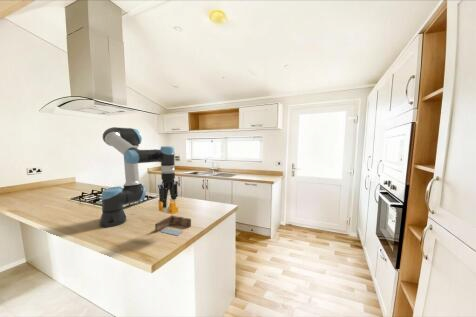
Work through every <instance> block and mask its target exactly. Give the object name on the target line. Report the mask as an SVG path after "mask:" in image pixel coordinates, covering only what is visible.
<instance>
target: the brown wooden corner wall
mask: <svg viewBox="0 0 476 317" xmlns="http://www.w3.org/2000/svg"><path fill="white" fill-rule="evenodd" d="M171 225H177V226H181V227H186V228H187V227H188V228H190V227H192V219H191V218H188V217H184V216H178V215H174V214H171V215H170V216H168V217H166V218H164V219H162V220H160V221H158V222H156V223H155V225H154V227H155V230H154V231H155V233H158V232H160V231H162V230H163V229H165V228H167V227H169V226H171Z"/></svg>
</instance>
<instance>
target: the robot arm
mask: <svg viewBox="0 0 476 317" xmlns="http://www.w3.org/2000/svg"><path fill="white" fill-rule="evenodd" d="M142 140H143V138H142V134H141V132H140V130H138V129H136V128H131V127H116V126H115V127H108V128H107V129H105V130H104V132H103V133H102V141H103V142H104V143H105V144H106V145H108V146H111V147H113V148H114V149H115V150H117V151H118V152H119V153H120V154H122V155H123V164H124V176H125V177H124V179H125V182H124V184H123V187H122V186H113V187H109V188H106V189H104V190H103V191H102V192H101V197H100V199H101V207H102V208H101V209H102V210H101V211H102V213H101V216H100V219H99V226H100V227H103V228H111V227H117V226H119V225H121V224H125V223H126V222H127V216H126V213H125V210H124V205H130V204H134V203H138V202H140V201H143V200H144V199H145V197H146V193H147V191H146V187H145V185H144V184H143V183H142V182H141V180H140V175H139V164H145V163H146V164H147V163H160V169H161V170H160V172H161V174H160V175H161V180H162V181H161V183H160V184H158V185H157V188H158V195H159V196H158V197H159V201H160V202H163V208H164V212H163V213H165V214H169V213H168V207H169V204H170V203H171V202H176V199H177V198H178V184H179V182H178V181H177V180H175V178H176V174H175V171H176V170H175V161H176V159H175V148H174V146H170V145H169V146H167V145H166V146H165V145H164V146H161V147H160V149H139V146H140V145H141V144H142ZM168 194H169V195H170V199H169V203H168Z"/></svg>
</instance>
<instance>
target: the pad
mask: <svg viewBox="0 0 476 317" xmlns="http://www.w3.org/2000/svg"><path fill="white" fill-rule="evenodd" d="M159 232H160V233H164V234H168V235H172V236H179V235H181V234H182V233H183V231H182V230H177V229H173V228H167V227H166V228H164V229H162V230H160V231H159Z"/></svg>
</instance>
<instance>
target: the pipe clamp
mask: <svg viewBox="0 0 476 317" xmlns="http://www.w3.org/2000/svg"><path fill="white" fill-rule="evenodd" d="M157 204H158V211H159V212H162V213H164V208H163V202H160V201H159V200H158V203H157ZM177 213H179V206H177V204H176V201H175V202H171V203H170V202H169V204H168V213H167V214H169V215H174V214H177Z"/></svg>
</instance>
